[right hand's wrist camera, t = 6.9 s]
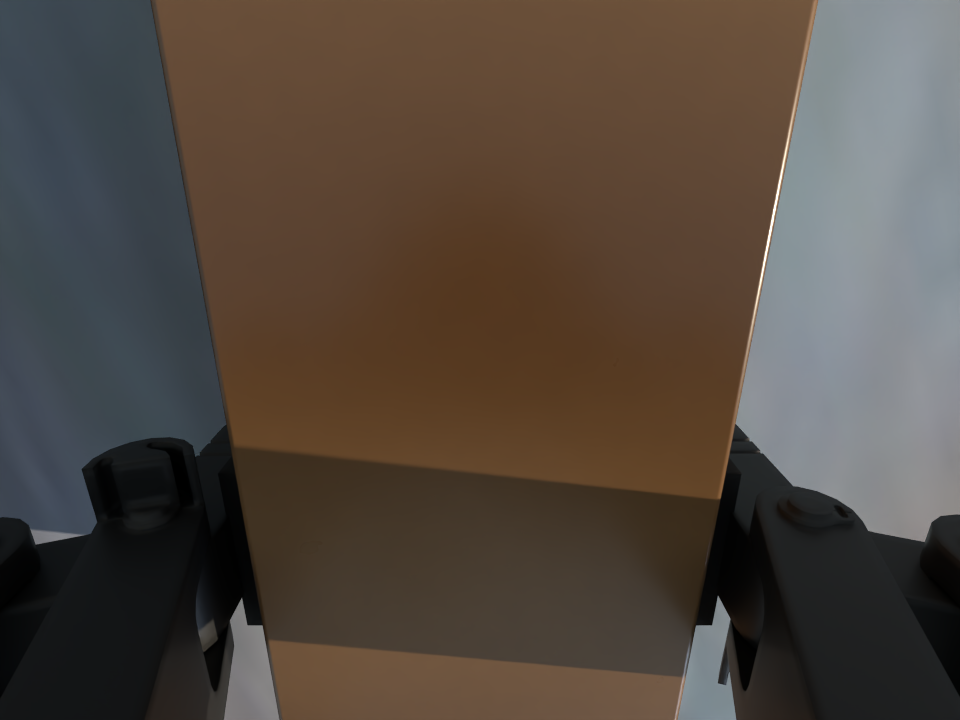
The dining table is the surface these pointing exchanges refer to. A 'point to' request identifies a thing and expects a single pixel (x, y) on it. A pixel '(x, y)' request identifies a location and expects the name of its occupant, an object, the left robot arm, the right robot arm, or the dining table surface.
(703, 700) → the dining table surface
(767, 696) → the right robot arm
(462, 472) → the post
